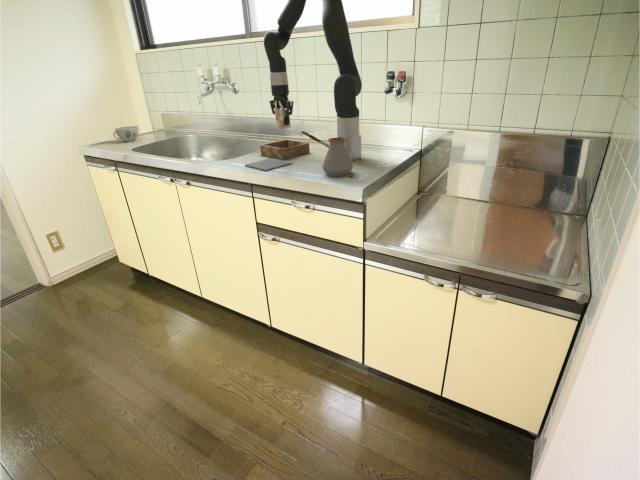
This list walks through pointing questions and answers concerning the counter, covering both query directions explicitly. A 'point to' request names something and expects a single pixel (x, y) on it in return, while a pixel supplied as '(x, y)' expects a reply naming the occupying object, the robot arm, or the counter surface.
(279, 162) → the charcoal mat
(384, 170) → the counter surface
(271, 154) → the walnut crate
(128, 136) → the teacup
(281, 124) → the maple block
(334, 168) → the coffee pot
